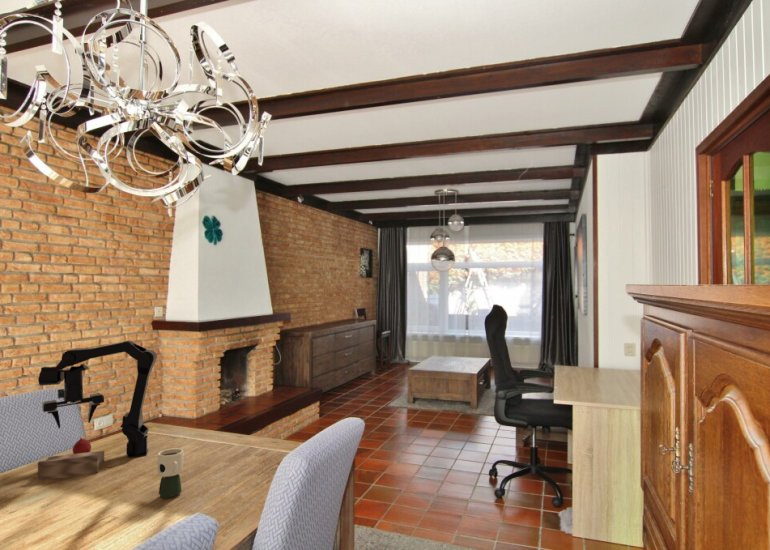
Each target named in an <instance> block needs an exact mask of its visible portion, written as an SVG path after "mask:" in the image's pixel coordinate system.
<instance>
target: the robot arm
mask: <svg viewBox="0 0 770 550" xmlns="http://www.w3.org/2000/svg"><path fill="white" fill-rule="evenodd" d="M119 353H125V354H128V355H129V357H131V359H134V360H136V368H137V376H136V377H137V378H136V380H135V381H136V382H135V385H134V386H135V387H134V391H133V395H132V400H131V404H130V409H129V411H128V412H126V413H125V414H124V415H122V420H121V421H122V423H121V425H120V428H121V433H122V434H123V436H126V439H127V441H128V442H127V443H126V456H127V458H134V457H142V456H143V457H144V456H147V455H148V452H149V449H148V443H149V442H148V441H149V439H148V436H149V435H147V434H148V433H149V431H150V430H149V429H150V428H148V426H146V425H145V424H143V422H144V421H143V419H144V418H143V417H144V416H143V407H144V401H145V397H146V392H147V389H148V384H149V379H150V376H151V373H152V370H153V368H154V367H155V364H156V361H157V359H158V354H157V353H156V351H155V350H153V349H147V348H146V347H144V346H142V345H139V344H137V343H136V342H134V341H132V340H129V339H128V340H125V341H122V342H117V343H112V344H107V345H101V346H97V347H91V348H90V347H81V348H73V349H70V350H69V349H68V350H66V351H64V352H63V353H62V356H61V360H60V361H59V363H58V364H57V365H55V366H42V367H41V368H40V371H39V375H38V384H39V386H40V387H41V386H42V387H43V386H45V387H46V386H54V385H55V386H56V385H60V384H61V383H62V382H63V385H64V387H63V388H64V389H63V388H60V389H57V399H59V400H60V399H63V401H62V400H61V401H57V400H56V399H55V400H54V399H52V400H46V401H43V402H42V406H41V408H42V413H43V412H44V413H45V412H47V414H48V415H49V414H51V415H52V417H53V418H54V421H55V423H56V425H57V428H58V429H61V421H60V415H59V410H58V408H60V407H61V408H62V407H68V406H74V405H79V404H86V403H88V414H87V415H88V416H87V423H88V424H90V423H91V421H92V419H93V415H94V413H95V411H96V409H97V407H98V406H101V404H103V403H105V396H104V395H103V394H102V393H101V392H99V393H92V394H90V395H89V397H88V396H87V397H84V391H83V390H84V386H83V384H84V380H83V377H84V376H83V371H87V370H89V369H90V367H89V366H87V365H85V363H84V362H86V361H88V360H91V359H96V358H101V357H104V356H111V355H114V354H119ZM77 364H80V365H77ZM68 367H70V368H68Z"/></svg>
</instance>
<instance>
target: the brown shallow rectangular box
mask: <svg viewBox="0 0 770 550" xmlns="http://www.w3.org/2000/svg"><path fill="white" fill-rule="evenodd" d="M104 463H105V450H99V451H98V450H97V451H90V452H87V453H78V454H73V453H70V454H62V455H54V456H53V455H51V456H48V457H47V459H46V460H39V461H38V462H37V481H38V480H41V481H47V480H46V479H49V480H57V479H62V478H71V477H79V476H86V475H94V474H98V473H99V471H100V470H101V467H102V466H103V464H104ZM56 478H57V479H56Z"/></svg>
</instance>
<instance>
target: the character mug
mask: <svg viewBox="0 0 770 550" xmlns="http://www.w3.org/2000/svg"><path fill="white" fill-rule="evenodd" d="M183 471H184V449H182V448H179V447H178V448H177V447H175V448H167V449H164V450H161V451H158V453H157V471H156V472H157V476H158V477H161V479H160V483H159V489H158V495H159V497H160V498H163V499H168V498H173V497H174V496H177V495H179V494H181V493H182V490H183V489H182V484H181V483H182V481H181V476H180V474H182V472H183Z"/></svg>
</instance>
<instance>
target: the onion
mask: <svg viewBox="0 0 770 550" xmlns="http://www.w3.org/2000/svg"><path fill="white" fill-rule="evenodd" d="M91 450H92V444H91V443H90V441H89V440H87V439H85V438H84V437H83V436H80V437H79V440H78V441H76V442H75V443H74V445H73V447H72V454H78V453H87V452H92V451H91Z"/></svg>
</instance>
